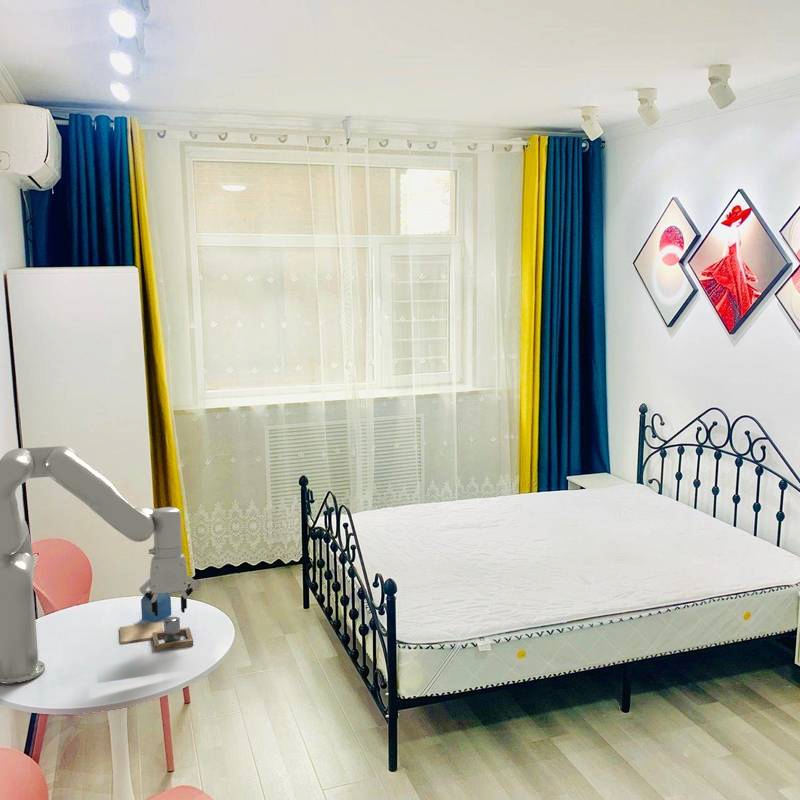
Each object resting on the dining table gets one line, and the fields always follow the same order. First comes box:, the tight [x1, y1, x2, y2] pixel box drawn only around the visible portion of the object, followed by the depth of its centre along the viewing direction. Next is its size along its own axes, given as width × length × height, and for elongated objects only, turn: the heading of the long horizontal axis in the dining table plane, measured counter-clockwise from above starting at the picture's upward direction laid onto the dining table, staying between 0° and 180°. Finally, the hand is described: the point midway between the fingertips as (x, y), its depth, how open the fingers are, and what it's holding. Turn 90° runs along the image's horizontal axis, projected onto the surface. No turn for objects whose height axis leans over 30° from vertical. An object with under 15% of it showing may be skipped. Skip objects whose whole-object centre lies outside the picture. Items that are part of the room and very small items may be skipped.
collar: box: [152, 627, 194, 652], centre depth 231 cm, size 10×10×2 cm
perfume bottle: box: [140, 586, 172, 623], centre depth 249 cm, size 6×6×12 cm
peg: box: [163, 616, 182, 643], centre depth 230 cm, size 4×4×6 cm
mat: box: [119, 620, 165, 645], centre depth 237 cm, size 12×12×1 cm
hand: (169, 612), depth 230 cm, fingers open, 6 cm apart
